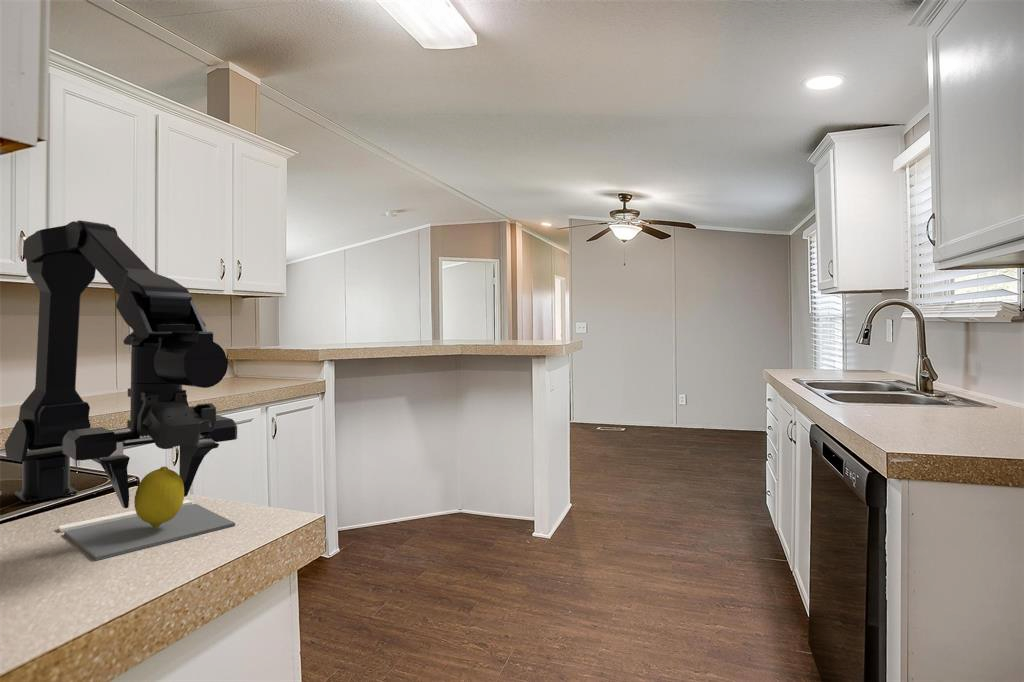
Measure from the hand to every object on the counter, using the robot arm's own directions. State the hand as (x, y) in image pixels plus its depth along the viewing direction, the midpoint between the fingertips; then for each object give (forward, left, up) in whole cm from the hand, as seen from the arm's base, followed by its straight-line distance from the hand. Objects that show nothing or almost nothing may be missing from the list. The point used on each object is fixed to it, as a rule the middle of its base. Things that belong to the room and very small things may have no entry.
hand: (155, 501), depth 77 cm
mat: (-1, 0, -4) cm, 4 cm away
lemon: (0, 0, -4) cm, 4 cm away
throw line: (-9, 0, -4) cm, 10 cm away
